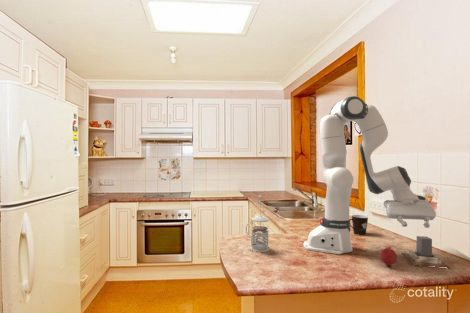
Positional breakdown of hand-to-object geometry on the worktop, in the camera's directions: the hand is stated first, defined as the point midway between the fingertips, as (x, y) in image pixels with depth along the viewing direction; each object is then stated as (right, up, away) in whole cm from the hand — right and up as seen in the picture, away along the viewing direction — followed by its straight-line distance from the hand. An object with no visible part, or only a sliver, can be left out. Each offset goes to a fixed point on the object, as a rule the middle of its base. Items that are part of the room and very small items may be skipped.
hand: (416, 226), depth 125 cm
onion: (-18, -13, -11) cm, 25 cm away
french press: (-69, -13, +9) cm, 71 cm away
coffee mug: (-10, -14, +38) cm, 42 cm away
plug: (0, -12, -6) cm, 14 cm away
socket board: (0, -13, -6) cm, 14 cm away
